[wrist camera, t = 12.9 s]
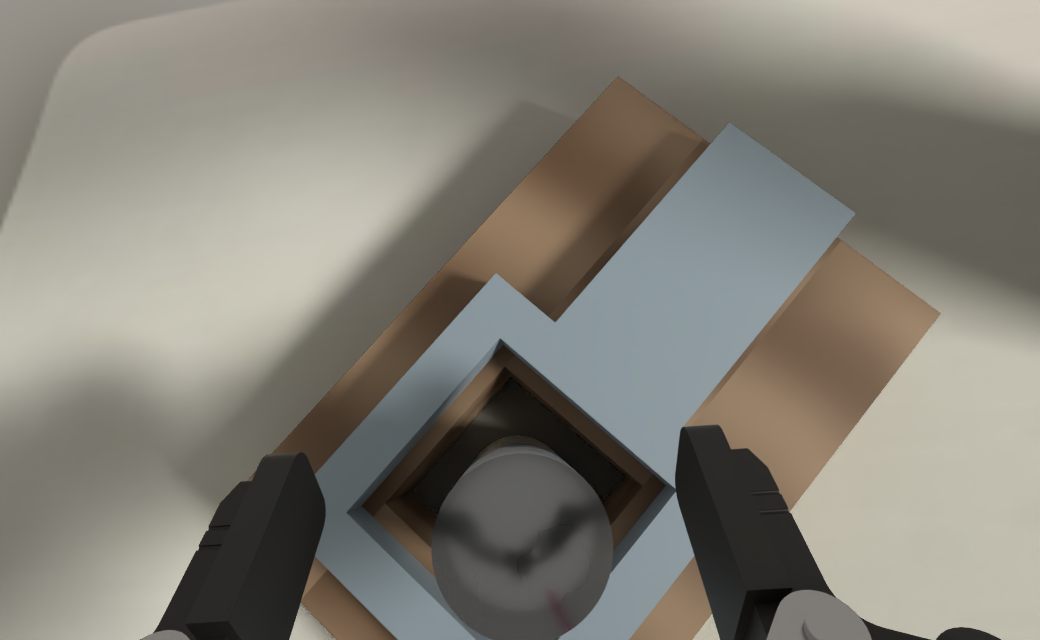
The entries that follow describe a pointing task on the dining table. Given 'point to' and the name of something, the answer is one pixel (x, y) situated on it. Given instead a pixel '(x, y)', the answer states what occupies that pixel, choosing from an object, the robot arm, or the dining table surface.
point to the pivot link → (599, 375)
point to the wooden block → (552, 289)
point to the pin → (521, 543)
